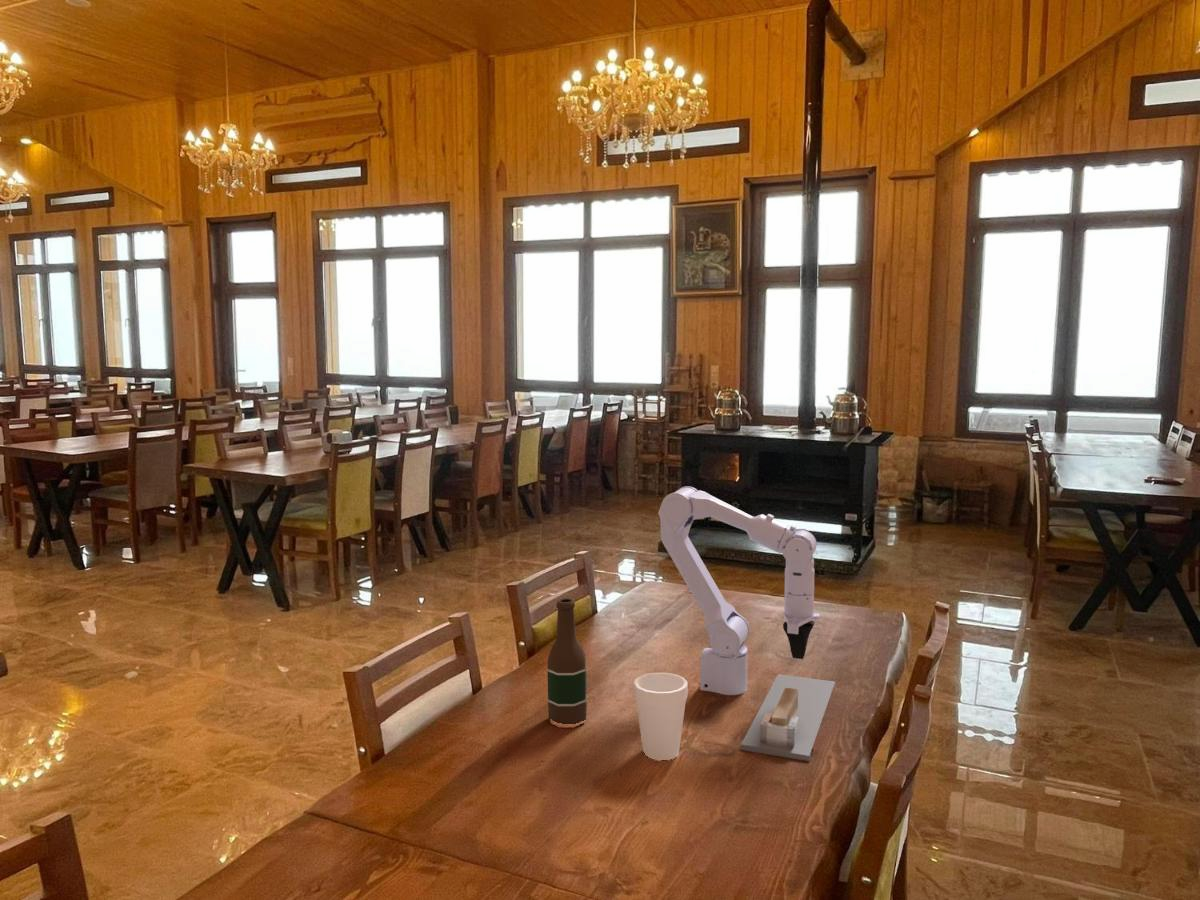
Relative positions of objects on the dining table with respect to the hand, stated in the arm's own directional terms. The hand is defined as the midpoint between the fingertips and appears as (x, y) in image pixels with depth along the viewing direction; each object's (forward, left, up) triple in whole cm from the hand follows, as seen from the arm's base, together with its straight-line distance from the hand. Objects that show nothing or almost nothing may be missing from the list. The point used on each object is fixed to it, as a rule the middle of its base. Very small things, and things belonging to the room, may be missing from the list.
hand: (798, 657), depth 171 cm
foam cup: (-19, -30, -10) cm, 37 cm away
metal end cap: (0, -19, -8) cm, 21 cm away
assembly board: (0, -7, -9) cm, 11 cm away
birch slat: (0, -14, -8) cm, 16 cm away
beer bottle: (-40, -24, -10) cm, 48 cm away
